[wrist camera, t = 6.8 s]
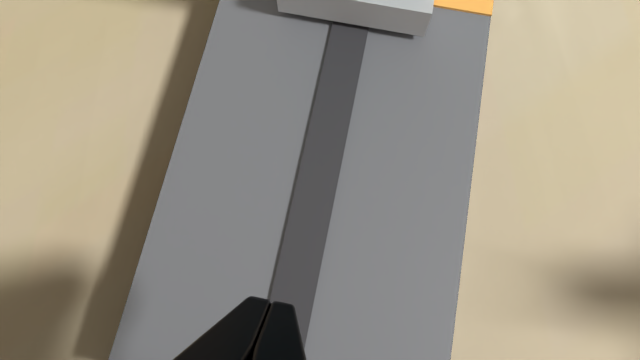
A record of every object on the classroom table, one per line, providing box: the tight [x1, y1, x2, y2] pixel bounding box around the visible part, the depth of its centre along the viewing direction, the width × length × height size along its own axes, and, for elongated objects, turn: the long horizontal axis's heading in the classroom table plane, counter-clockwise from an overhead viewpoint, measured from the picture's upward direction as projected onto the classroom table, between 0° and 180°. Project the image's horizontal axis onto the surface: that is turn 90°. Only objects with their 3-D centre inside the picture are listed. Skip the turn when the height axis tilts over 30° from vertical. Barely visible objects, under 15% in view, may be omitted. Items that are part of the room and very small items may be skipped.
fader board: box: [108, 0, 493, 360], centre depth 16 cm, size 16×9×2 cm, turn 169°
